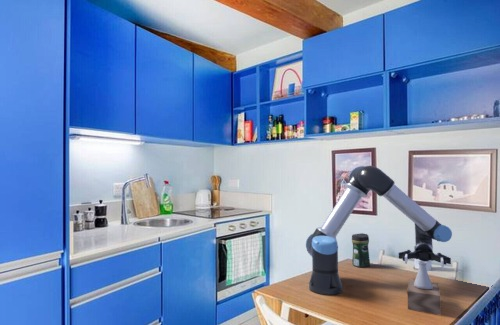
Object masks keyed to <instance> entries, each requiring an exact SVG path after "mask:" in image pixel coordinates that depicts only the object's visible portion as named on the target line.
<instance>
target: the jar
mask: <svg viewBox="0 0 500 325" xmlns="http://www.w3.org/2000/svg"><path fill="white" fill-rule="evenodd" d="M415 248H416V245H415V246H414V250H415ZM413 259H414V258H413ZM418 261H421V260H419V259H414V269H417V270H419V263H418ZM424 262H427V264H426V269H427V272H429V271H431V270H432V261H431V260H429V261H424Z"/></svg>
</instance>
